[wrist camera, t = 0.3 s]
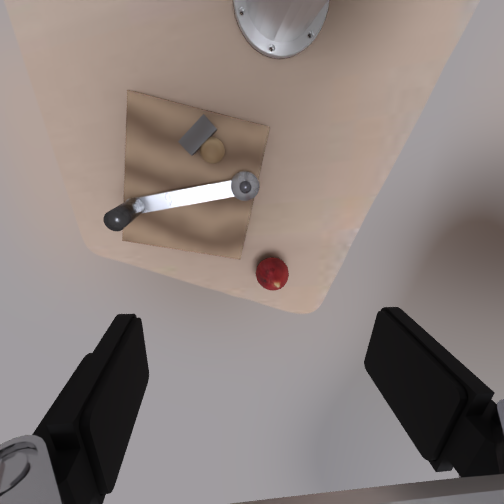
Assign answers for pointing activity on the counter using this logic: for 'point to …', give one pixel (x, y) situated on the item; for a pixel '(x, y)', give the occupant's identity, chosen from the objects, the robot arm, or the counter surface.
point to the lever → (182, 198)
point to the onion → (272, 273)
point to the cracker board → (188, 173)
